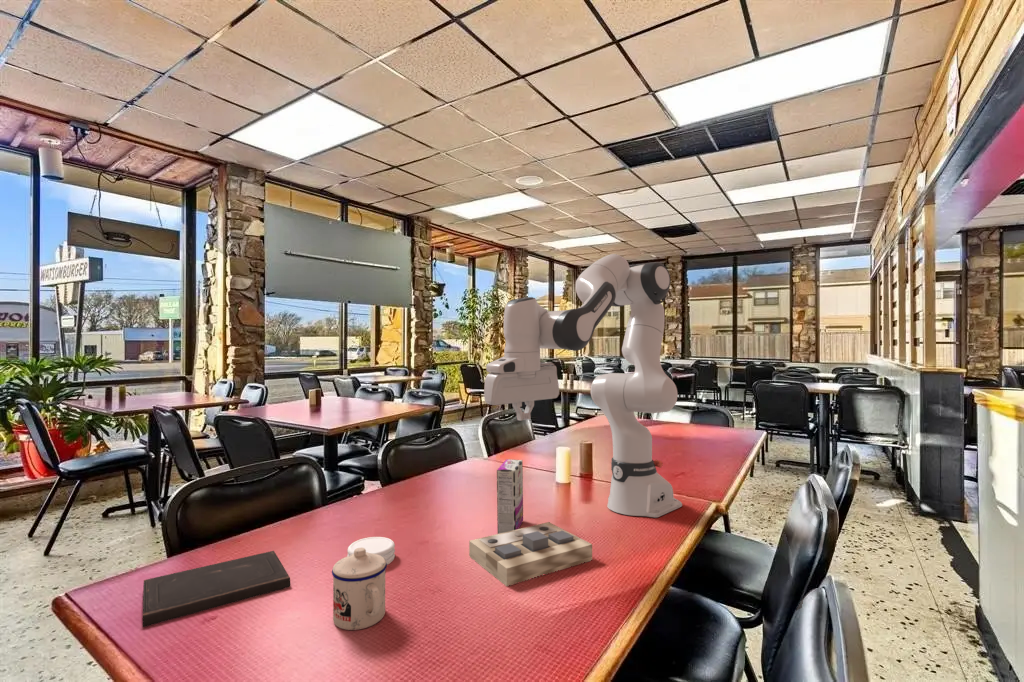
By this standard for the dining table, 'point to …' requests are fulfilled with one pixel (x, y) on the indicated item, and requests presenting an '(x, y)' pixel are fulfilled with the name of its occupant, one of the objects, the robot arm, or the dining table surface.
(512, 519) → the candy bar box
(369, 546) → the white round disc stack
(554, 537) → the button
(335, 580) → the teacup with lid
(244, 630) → the dining table surface
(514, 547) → the button
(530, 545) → the middle button
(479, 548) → the button board
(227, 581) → the hardcover book
